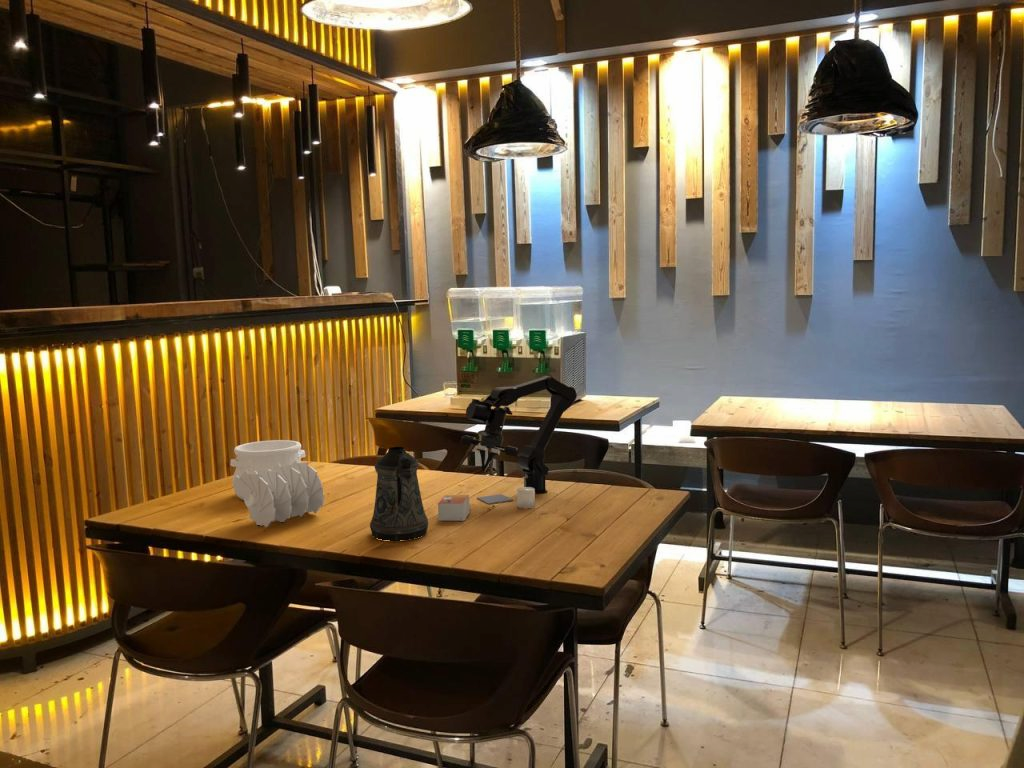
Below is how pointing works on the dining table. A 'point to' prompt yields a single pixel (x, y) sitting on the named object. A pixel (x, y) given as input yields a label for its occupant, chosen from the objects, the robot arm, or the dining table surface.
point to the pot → (265, 456)
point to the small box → (453, 508)
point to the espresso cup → (526, 497)
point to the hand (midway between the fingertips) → (483, 471)
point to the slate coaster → (495, 499)
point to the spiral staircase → (280, 492)
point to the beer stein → (398, 498)
